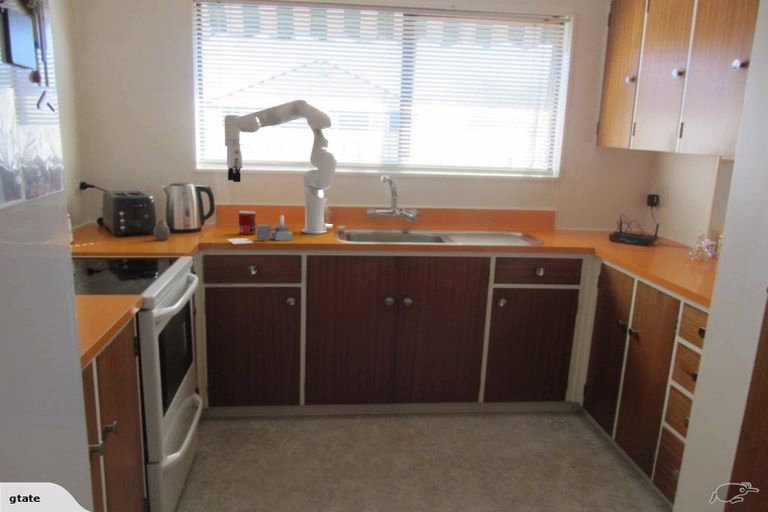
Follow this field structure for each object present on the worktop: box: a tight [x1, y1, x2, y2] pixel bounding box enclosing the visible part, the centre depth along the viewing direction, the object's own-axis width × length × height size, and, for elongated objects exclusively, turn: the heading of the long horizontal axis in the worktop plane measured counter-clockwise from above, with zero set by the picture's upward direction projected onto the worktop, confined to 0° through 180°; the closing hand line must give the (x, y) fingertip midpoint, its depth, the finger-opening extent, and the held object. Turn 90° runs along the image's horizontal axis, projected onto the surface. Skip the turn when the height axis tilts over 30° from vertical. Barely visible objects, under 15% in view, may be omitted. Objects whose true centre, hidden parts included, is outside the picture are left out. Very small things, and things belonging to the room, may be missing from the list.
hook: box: [256, 224, 290, 241], centre depth 259 cm, size 14×5×7 cm, turn 120°
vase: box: [153, 219, 171, 242], centre depth 249 cm, size 7×7×9 cm
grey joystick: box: [270, 215, 294, 241], centre depth 261 cm, size 8×7×11 cm
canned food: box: [238, 210, 257, 236], centre depth 272 cm, size 8×8×11 cm
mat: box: [226, 237, 254, 245], centre depth 252 cm, size 9×11×1 cm
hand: (234, 181), depth 255 cm, fingers open, 9 cm apart
